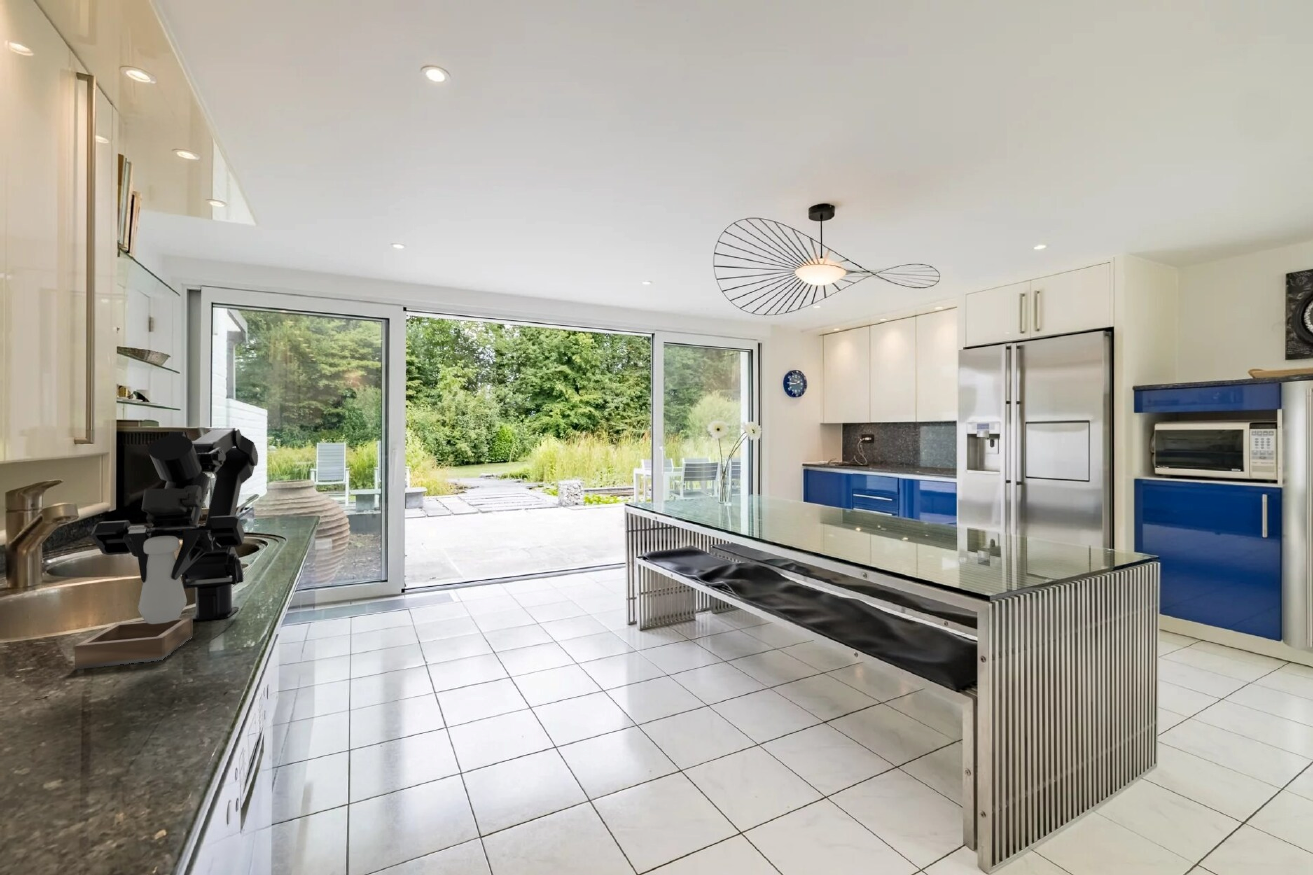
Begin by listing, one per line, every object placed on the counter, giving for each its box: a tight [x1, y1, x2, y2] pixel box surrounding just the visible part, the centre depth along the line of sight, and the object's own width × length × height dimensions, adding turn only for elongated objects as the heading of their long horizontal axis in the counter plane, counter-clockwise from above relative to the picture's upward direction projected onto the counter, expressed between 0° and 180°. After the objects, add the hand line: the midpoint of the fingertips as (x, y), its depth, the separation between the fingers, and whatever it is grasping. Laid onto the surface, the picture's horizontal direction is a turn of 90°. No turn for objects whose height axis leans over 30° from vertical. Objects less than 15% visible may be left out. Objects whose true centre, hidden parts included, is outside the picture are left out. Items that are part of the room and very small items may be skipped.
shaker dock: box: [74, 616, 194, 670], centre depth 96 cm, size 11×11×4 cm
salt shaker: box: [137, 536, 188, 624], centre depth 92 cm, size 6×6×13 cm
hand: (158, 579), depth 91 cm, fingers closed on salt shaker, 3 cm apart
